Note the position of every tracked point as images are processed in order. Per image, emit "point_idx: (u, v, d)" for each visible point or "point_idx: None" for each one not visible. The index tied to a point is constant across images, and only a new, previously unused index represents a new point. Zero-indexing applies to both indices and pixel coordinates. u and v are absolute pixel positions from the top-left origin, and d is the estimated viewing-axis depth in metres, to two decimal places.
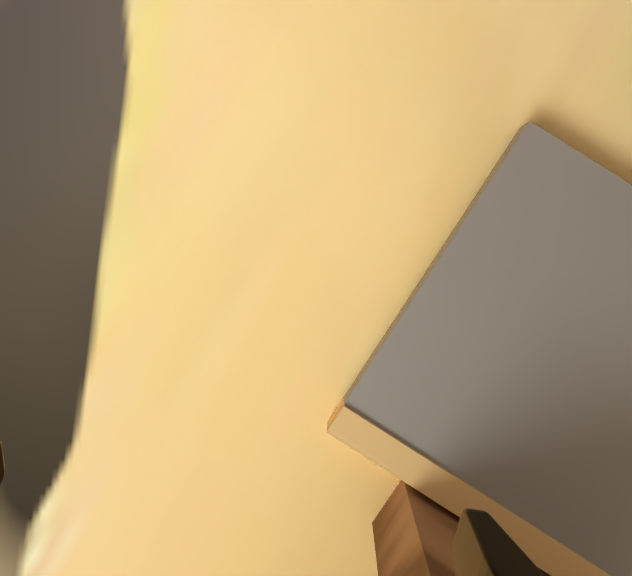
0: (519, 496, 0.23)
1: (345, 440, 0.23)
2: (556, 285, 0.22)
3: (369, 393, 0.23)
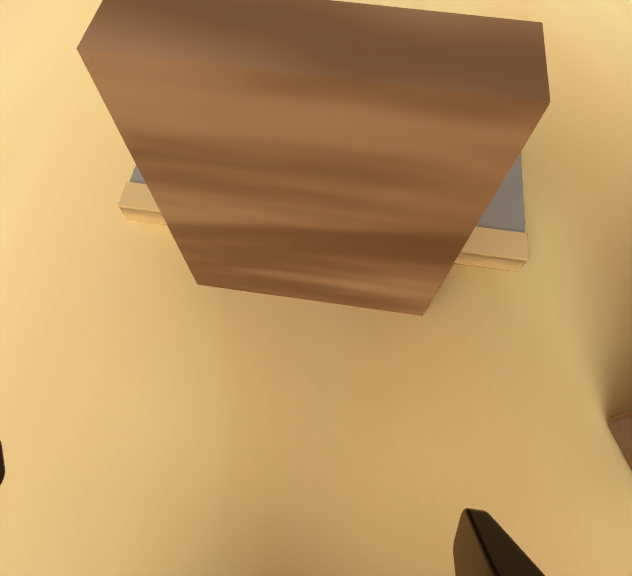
0: None
1: (136, 204, 0.25)
2: None
3: None
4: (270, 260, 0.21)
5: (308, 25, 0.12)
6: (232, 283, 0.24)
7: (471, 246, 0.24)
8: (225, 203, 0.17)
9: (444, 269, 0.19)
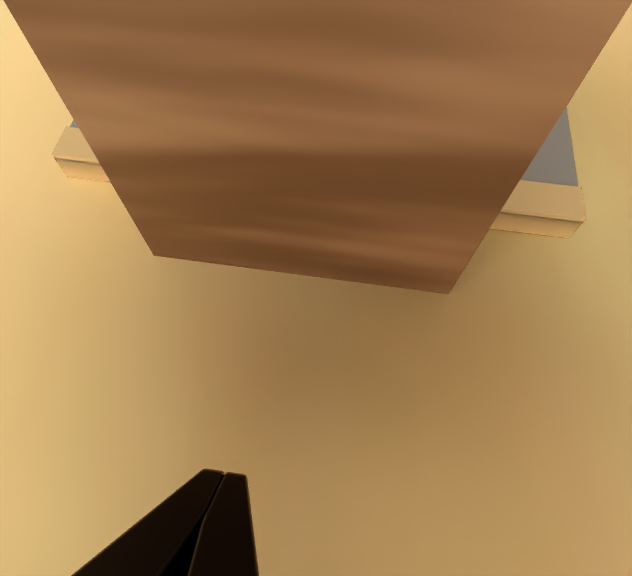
0: None
1: (76, 153, 0.19)
2: None
3: None
4: (245, 212, 0.15)
5: None
6: (197, 252, 0.18)
7: (510, 202, 0.18)
8: (170, 109, 0.11)
9: (488, 217, 0.14)
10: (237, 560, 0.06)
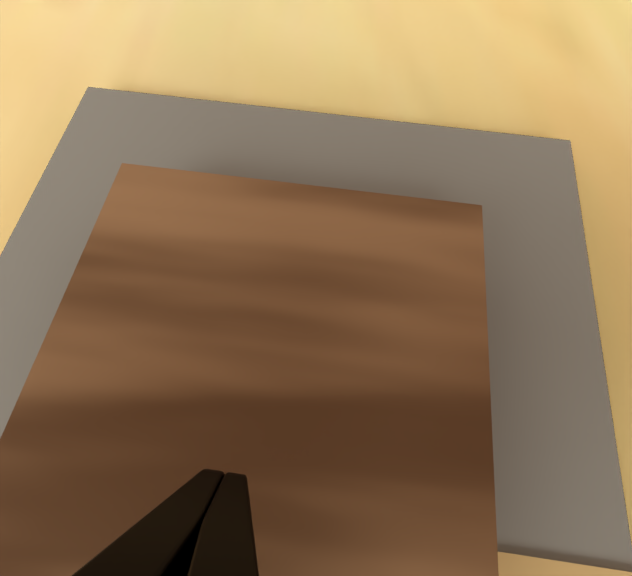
0: None
1: None
2: None
3: None
4: None
5: None
6: None
7: None
8: (150, 344, 0.12)
9: (486, 504, 0.11)
10: (237, 560, 0.06)
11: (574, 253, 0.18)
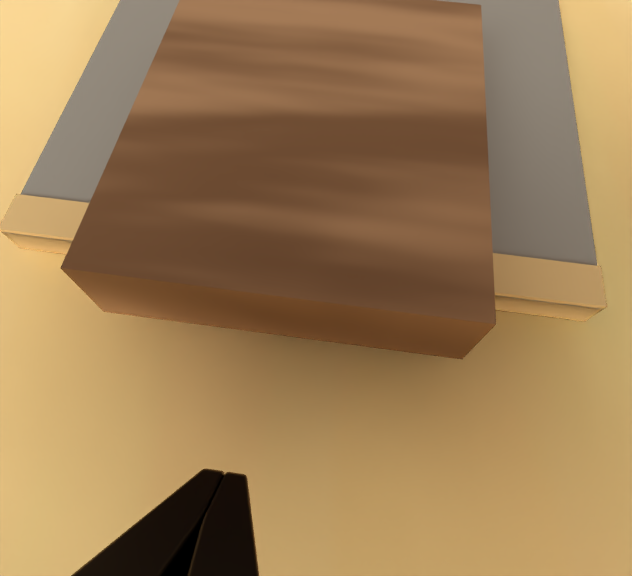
0: None
1: (25, 228, 0.17)
2: None
3: (49, 175, 0.18)
4: (240, 179, 0.14)
5: None
6: (138, 254, 0.13)
7: (519, 286, 0.16)
8: (225, 84, 0.16)
9: (482, 173, 0.14)
10: (237, 560, 0.06)
11: (557, 69, 0.21)
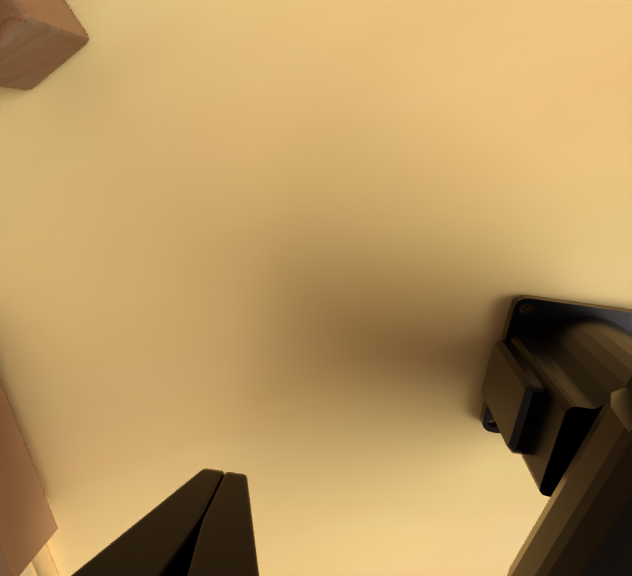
0: None
1: None
2: None
3: None
4: None
5: None
6: None
7: None
8: None
9: None
10: (237, 560, 0.06)
11: None
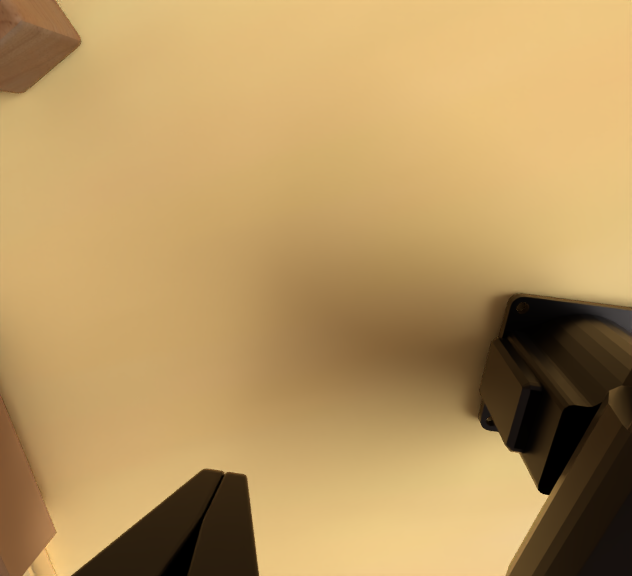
0: None
1: None
2: None
3: None
4: None
5: None
6: None
7: None
8: None
9: None
10: (237, 560, 0.06)
11: None
